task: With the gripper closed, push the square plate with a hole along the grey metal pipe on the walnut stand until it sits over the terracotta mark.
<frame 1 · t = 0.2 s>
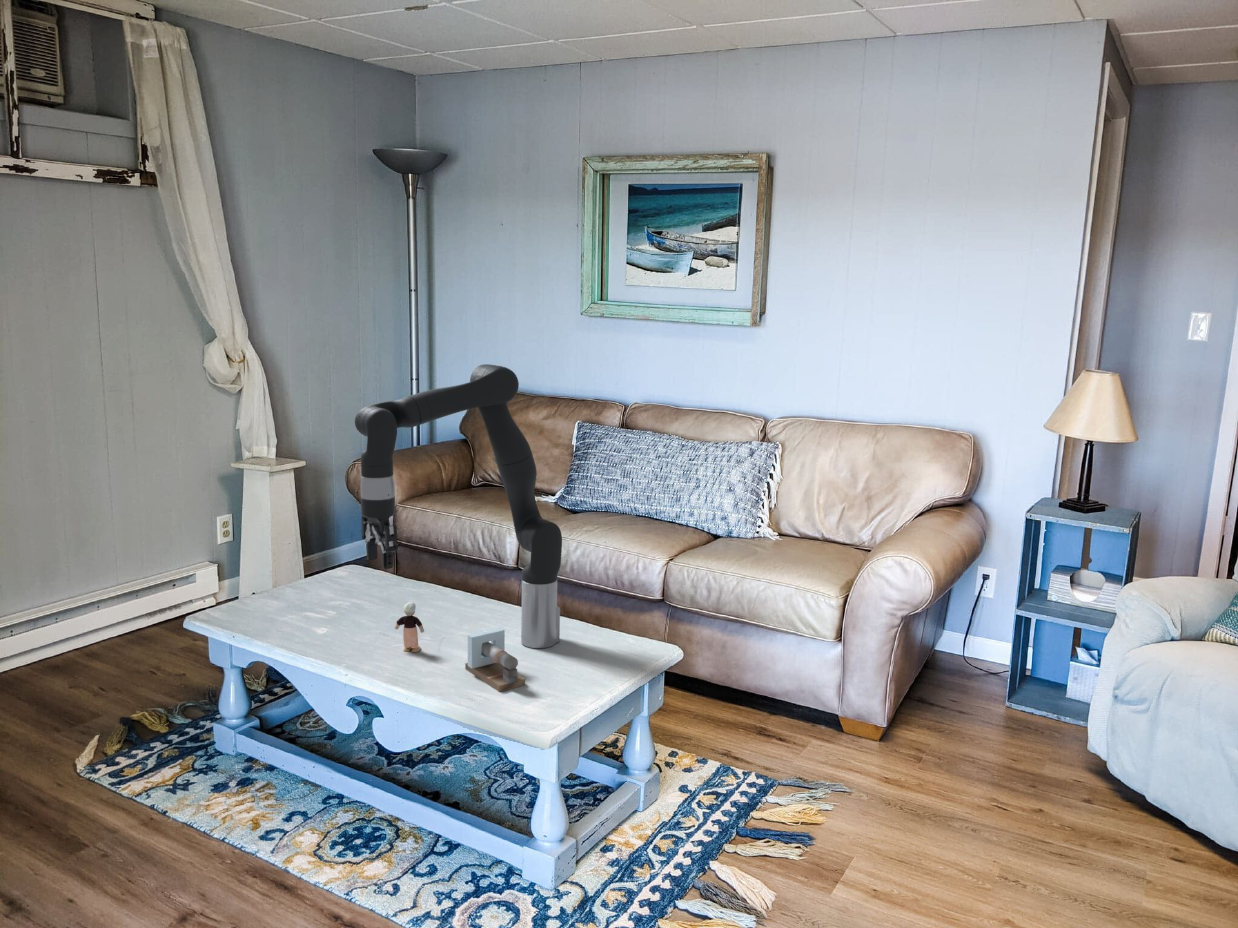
hand: (379, 563, 216), 28 cm above the table, tool pointing down, fingers open, 8 cm apart
square plate with hole: (486, 647, 227), point 6 cm above the table, slide at 0.0 cm
grandmother figurine: (410, 650, 241), on the table
pipe stand: (494, 676, 225), on the table
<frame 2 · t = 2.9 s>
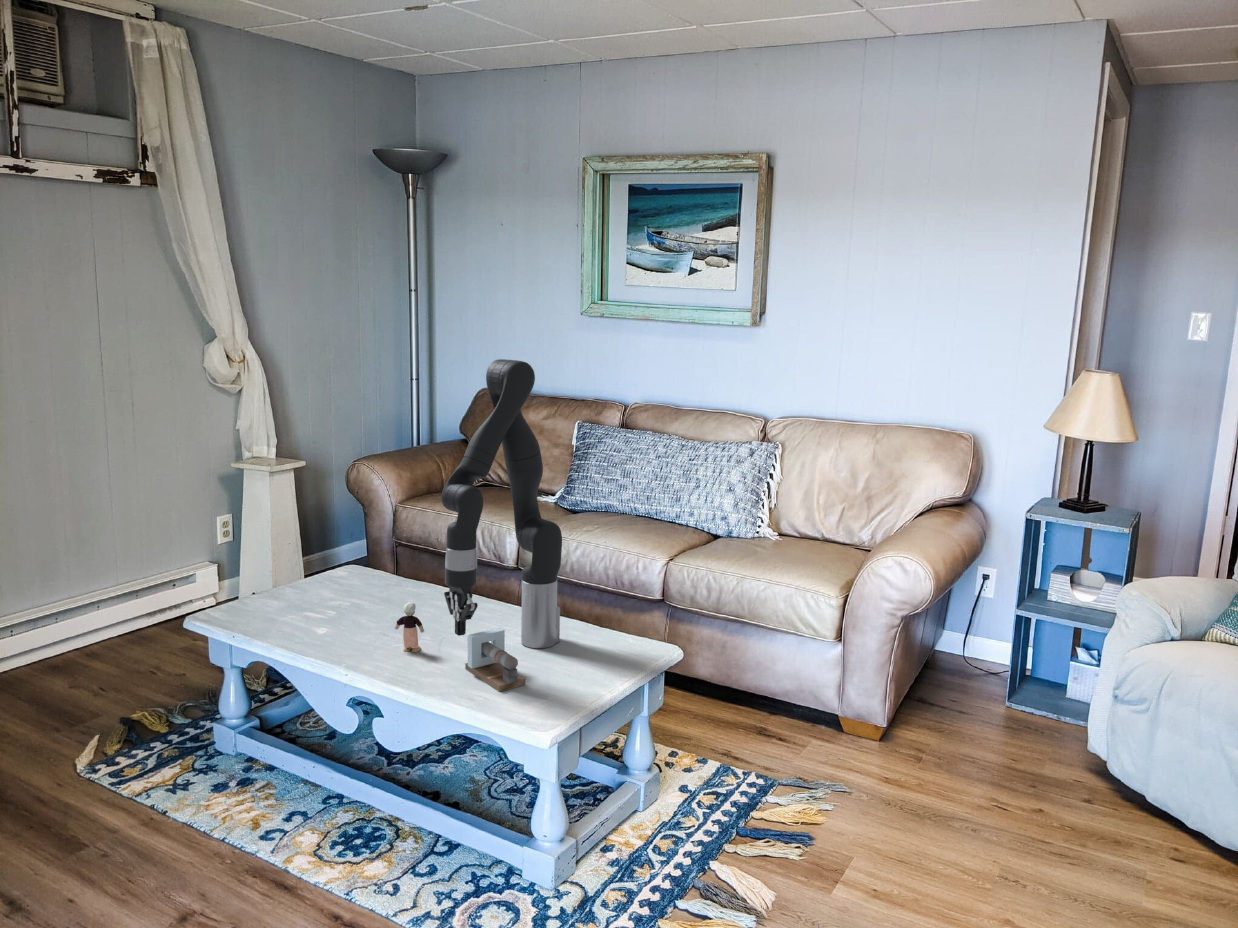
hand: (460, 634, 229), 8 cm above the table, tool pointing down, fingers closed
nothing on the table moved.
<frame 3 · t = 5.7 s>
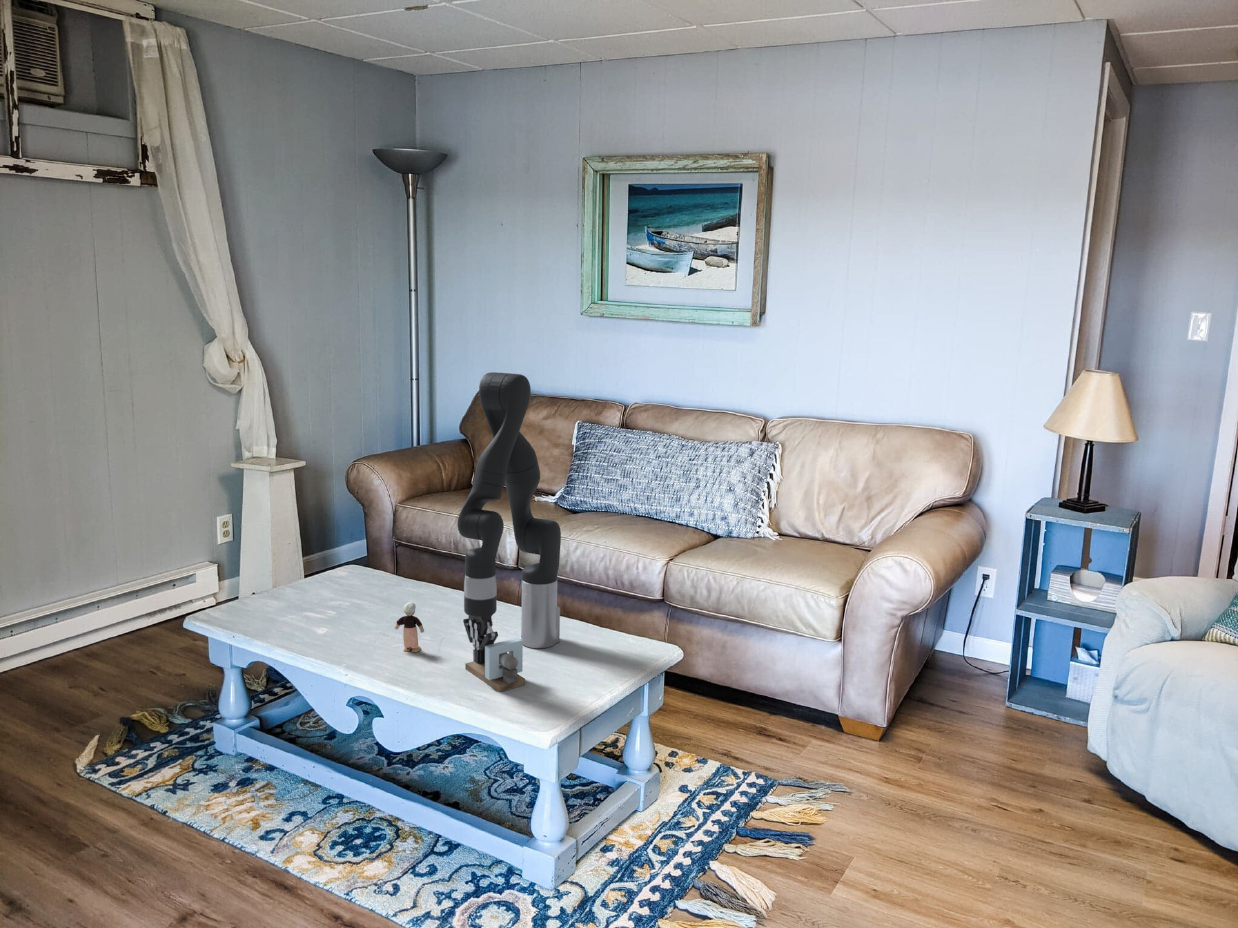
hand: (480, 662, 223), 4 cm above the table, tool pointing down, fingers closed
square plate with hole: (503, 658, 221), point 6 cm above the table, slide at 8.2 cm, touching hand
everything else where it was.
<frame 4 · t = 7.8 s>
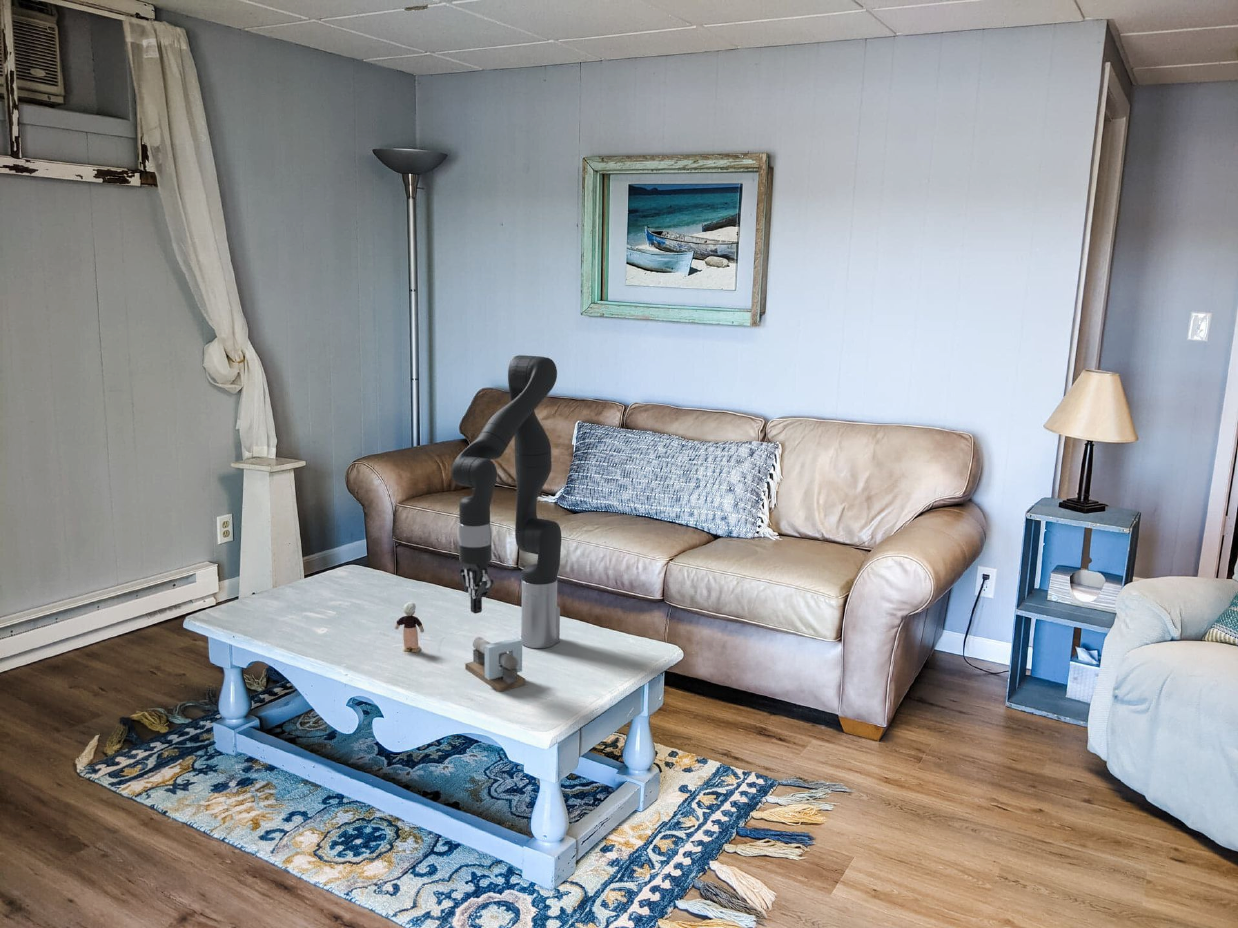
hand: (476, 611, 223), 16 cm above the table, tool pointing down, fingers closed
square plate with hole: (503, 658, 221), point 6 cm above the table, slide at 8.0 cm
everything else where it was.
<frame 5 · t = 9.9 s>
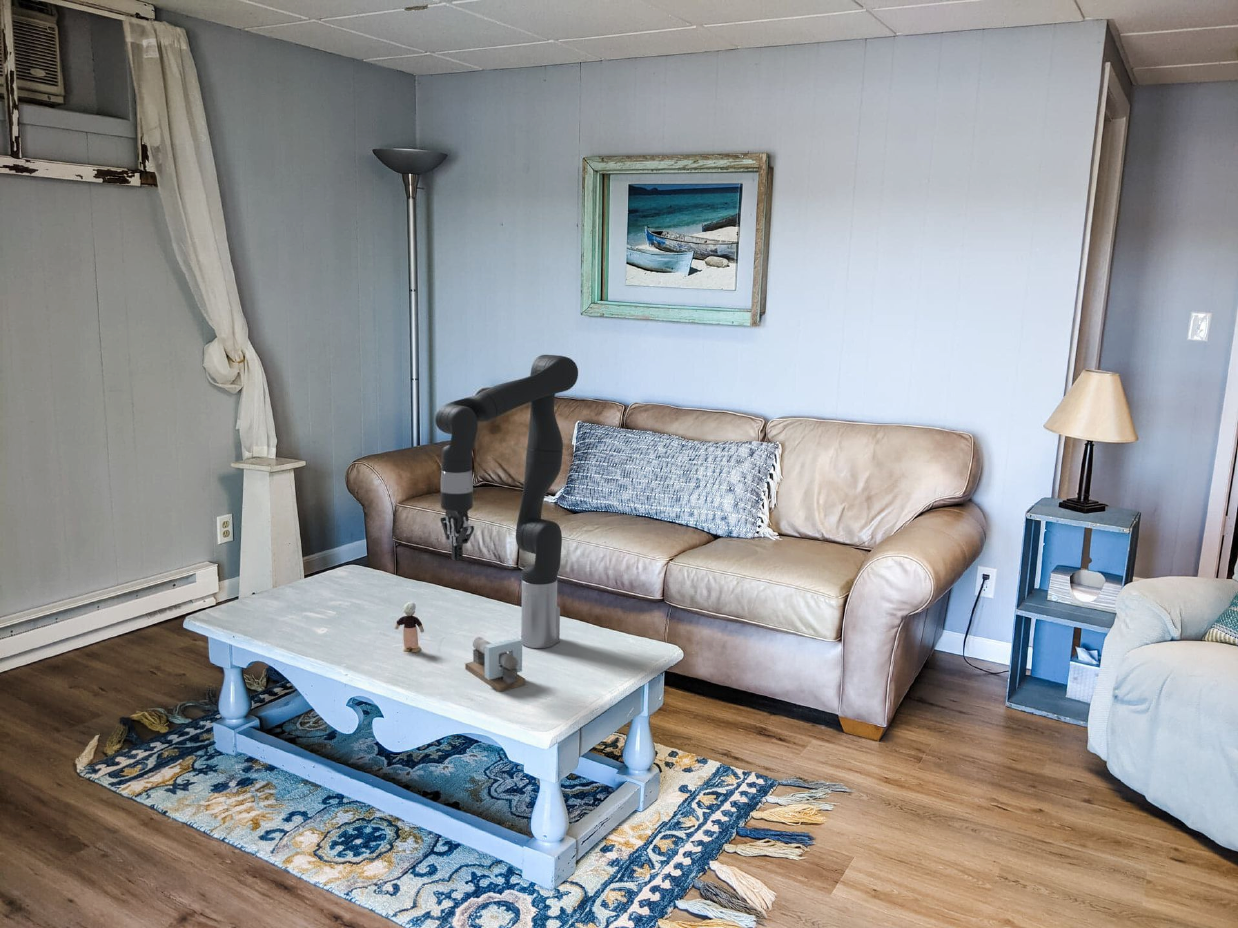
hand: (457, 559, 227), 27 cm above the table, tool pointing down, fingers closed
nothing on the table moved.
at the end: square plate with hole slide at 8.0 cm; the gripper is holding nothing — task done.
